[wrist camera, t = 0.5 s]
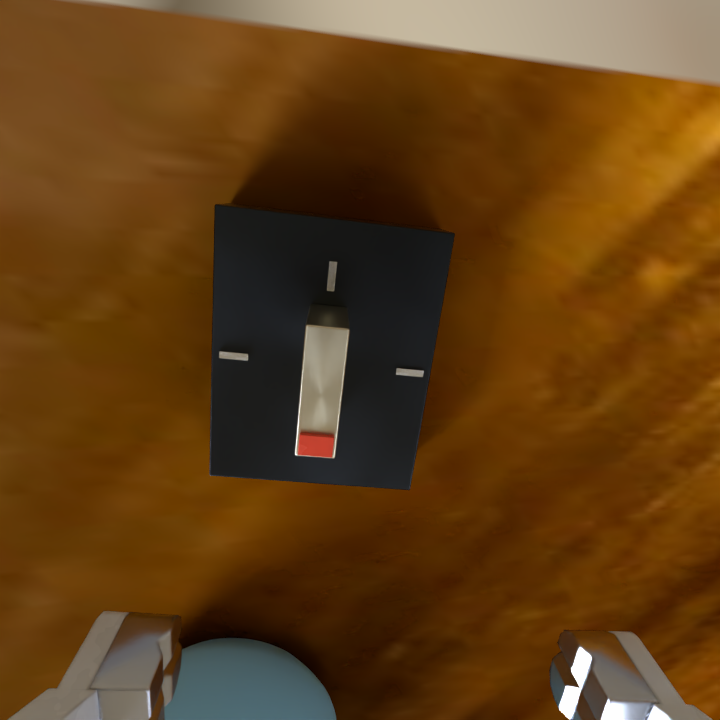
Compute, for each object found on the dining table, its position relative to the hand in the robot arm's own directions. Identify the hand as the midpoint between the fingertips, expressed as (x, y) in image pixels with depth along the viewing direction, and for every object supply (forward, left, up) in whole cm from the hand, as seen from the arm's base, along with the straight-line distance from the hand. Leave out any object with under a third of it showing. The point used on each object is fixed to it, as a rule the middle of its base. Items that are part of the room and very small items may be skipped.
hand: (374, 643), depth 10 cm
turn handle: (-1, -1, -15) cm, 15 cm away
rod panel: (-1, -1, -18) cm, 18 cm away
